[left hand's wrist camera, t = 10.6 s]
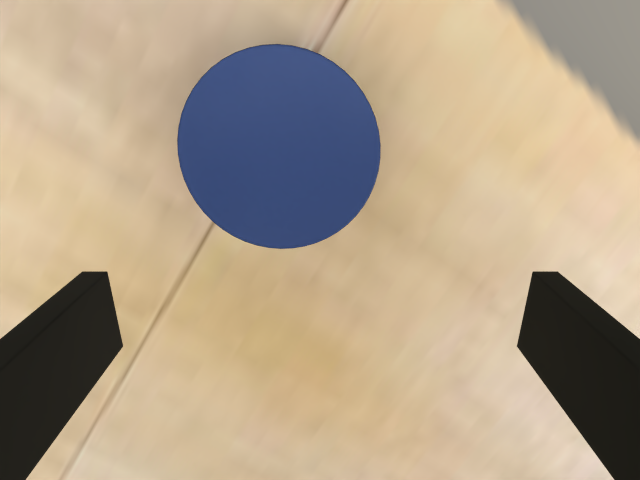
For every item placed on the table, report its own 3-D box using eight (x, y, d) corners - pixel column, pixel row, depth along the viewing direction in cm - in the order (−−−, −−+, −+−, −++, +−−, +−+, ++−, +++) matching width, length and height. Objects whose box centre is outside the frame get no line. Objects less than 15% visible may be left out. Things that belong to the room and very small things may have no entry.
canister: (395, 121, 25) (423, 140, 18) (303, 229, 28) (297, 282, 21) (275, 15, 23) (255, -9, 16) (188, 144, 25) (139, 171, 19)
